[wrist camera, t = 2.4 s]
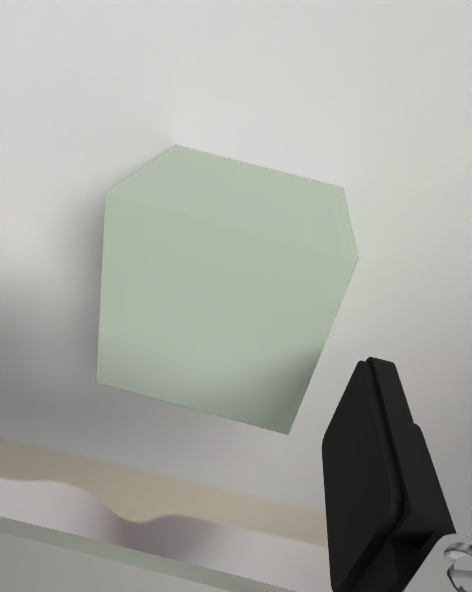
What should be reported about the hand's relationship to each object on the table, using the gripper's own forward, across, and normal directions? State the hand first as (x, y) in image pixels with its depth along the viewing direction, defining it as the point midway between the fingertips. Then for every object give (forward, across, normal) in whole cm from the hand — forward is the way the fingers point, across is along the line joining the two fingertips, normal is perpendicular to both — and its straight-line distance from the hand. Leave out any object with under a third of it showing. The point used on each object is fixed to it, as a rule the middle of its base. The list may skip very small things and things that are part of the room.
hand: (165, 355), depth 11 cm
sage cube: (+7, -1, 0) cm, 7 cm away
